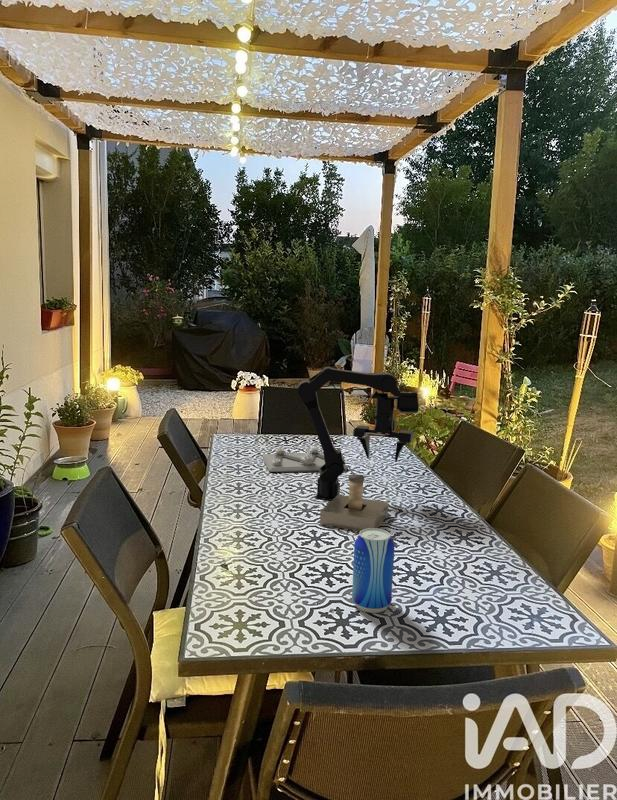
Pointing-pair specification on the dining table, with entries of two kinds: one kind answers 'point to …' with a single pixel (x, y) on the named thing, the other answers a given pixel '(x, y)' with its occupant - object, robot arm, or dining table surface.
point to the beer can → (373, 570)
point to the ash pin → (355, 491)
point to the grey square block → (353, 514)
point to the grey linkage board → (295, 461)
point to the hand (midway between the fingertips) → (382, 459)
